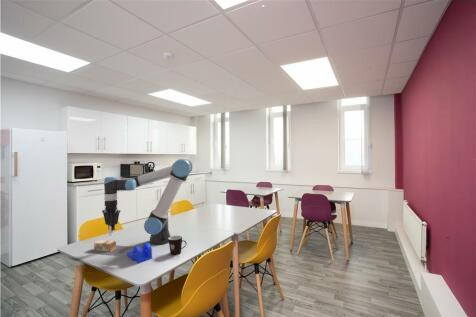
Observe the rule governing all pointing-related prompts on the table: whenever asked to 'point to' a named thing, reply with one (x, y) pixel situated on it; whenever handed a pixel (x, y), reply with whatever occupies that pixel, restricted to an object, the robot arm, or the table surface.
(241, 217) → the table surface
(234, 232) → the table surface
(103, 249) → the birch pillar
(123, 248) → the charcoal mat
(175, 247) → the coffee mug
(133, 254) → the bracket
